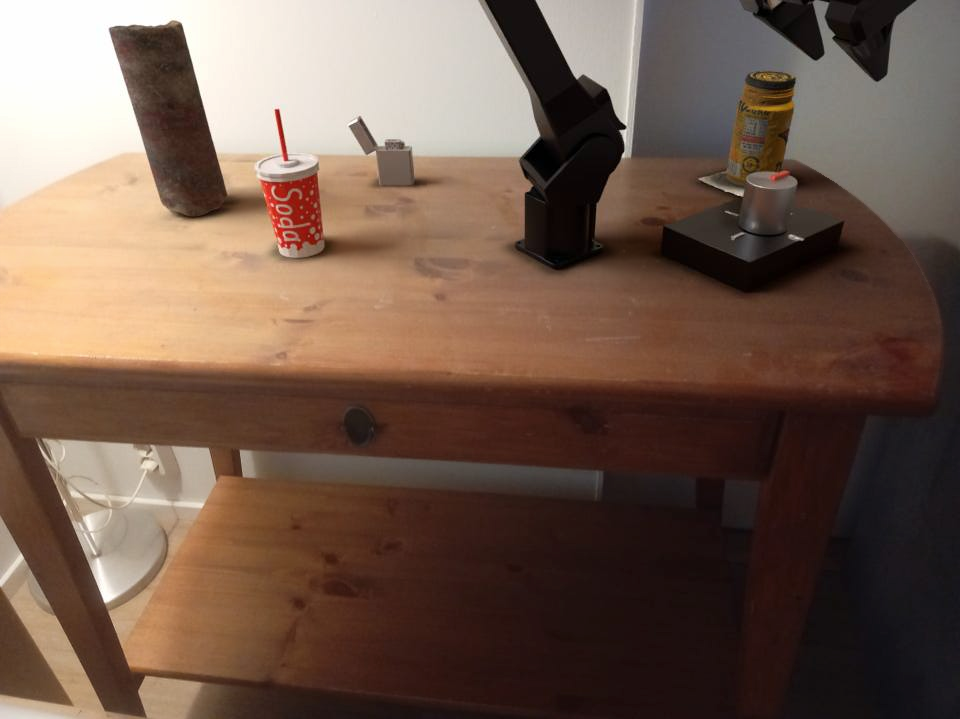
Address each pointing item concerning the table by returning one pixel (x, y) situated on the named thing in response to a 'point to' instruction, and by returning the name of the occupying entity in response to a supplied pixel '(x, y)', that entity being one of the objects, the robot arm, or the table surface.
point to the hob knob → (767, 202)
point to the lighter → (386, 155)
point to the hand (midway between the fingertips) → (848, 67)
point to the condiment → (758, 130)
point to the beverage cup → (292, 199)
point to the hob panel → (748, 244)
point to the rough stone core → (170, 116)
